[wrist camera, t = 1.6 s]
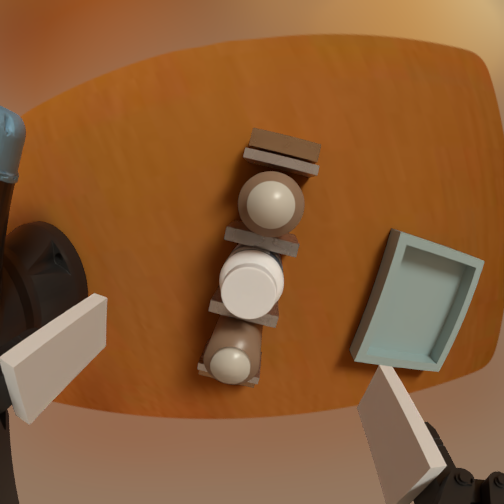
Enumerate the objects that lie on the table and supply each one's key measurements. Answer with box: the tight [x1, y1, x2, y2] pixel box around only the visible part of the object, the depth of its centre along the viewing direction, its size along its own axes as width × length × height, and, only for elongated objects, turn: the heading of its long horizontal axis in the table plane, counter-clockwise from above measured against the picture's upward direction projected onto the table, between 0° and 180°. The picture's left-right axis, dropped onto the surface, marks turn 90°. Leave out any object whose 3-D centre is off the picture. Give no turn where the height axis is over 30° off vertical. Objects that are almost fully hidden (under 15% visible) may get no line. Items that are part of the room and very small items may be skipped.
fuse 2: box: [238, 171, 304, 237], centre depth 24 cm, size 5×5×9 cm
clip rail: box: [197, 128, 321, 388], centre depth 27 cm, size 6×25×5 cm, turn 166°
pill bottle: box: [219, 244, 284, 319], centre depth 26 cm, size 5×5×9 cm
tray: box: [349, 228, 484, 372], centre depth 28 cm, size 12×14×2 cm
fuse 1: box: [204, 314, 263, 385], centre depth 27 cm, size 5×5×9 cm
